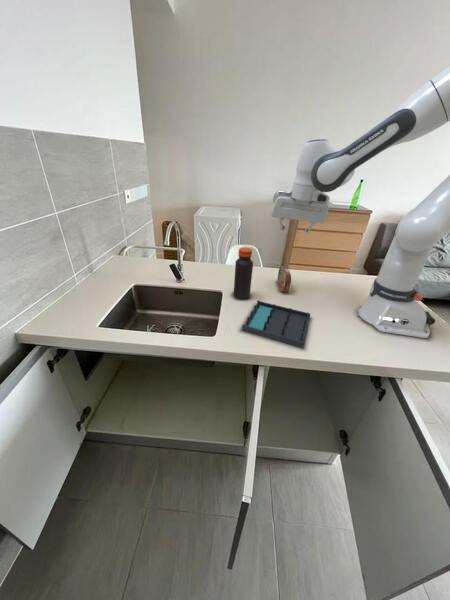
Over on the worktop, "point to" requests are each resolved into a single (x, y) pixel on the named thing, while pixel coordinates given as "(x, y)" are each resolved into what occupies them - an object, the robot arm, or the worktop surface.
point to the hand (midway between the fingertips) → (294, 231)
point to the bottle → (243, 274)
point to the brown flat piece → (284, 278)
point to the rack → (278, 323)
